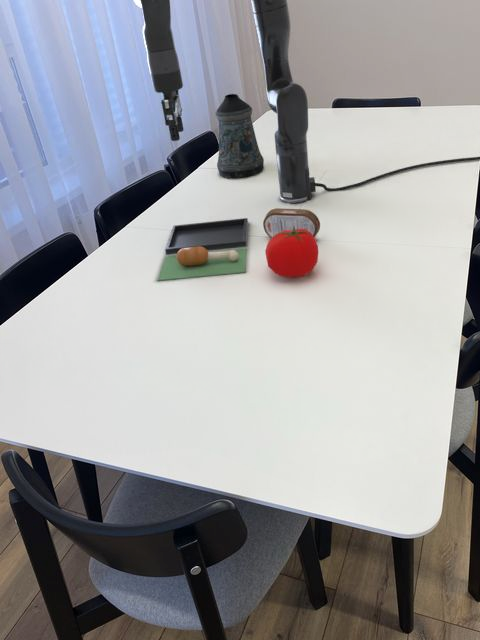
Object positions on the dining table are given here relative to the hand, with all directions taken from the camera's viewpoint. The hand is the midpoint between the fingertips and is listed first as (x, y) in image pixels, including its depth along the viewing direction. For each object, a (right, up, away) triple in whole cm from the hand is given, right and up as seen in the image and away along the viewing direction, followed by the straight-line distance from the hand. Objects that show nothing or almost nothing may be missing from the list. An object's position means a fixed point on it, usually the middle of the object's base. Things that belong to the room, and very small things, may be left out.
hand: (177, 135), depth 153 cm
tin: (+30, -28, 0) cm, 41 cm away
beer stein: (+14, +7, +52) cm, 54 cm away
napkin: (+7, -35, -6) cm, 36 cm away
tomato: (+30, -38, -14) cm, 51 cm away
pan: (+8, -26, +7) cm, 28 cm away
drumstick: (+9, -35, -6) cm, 36 cm away
